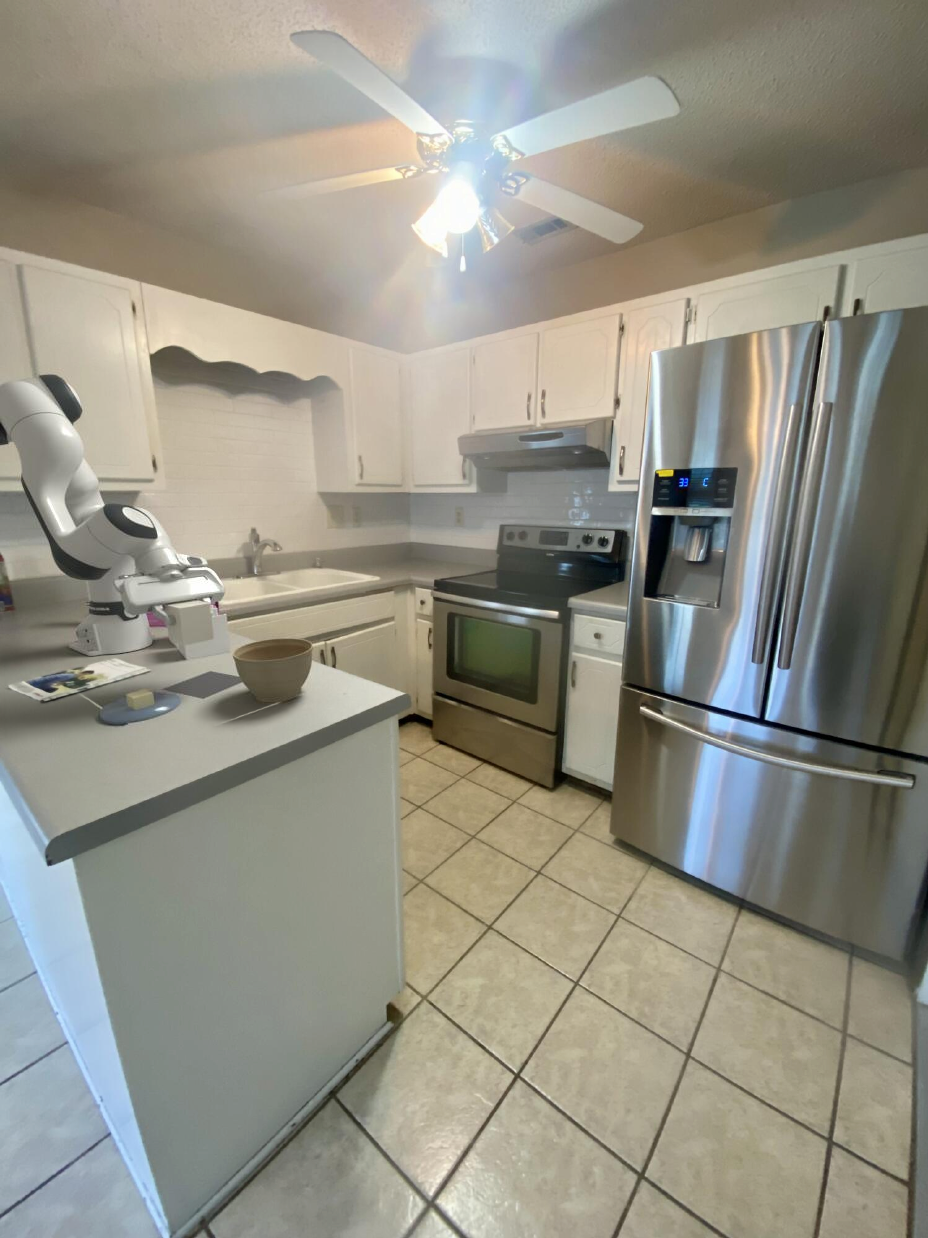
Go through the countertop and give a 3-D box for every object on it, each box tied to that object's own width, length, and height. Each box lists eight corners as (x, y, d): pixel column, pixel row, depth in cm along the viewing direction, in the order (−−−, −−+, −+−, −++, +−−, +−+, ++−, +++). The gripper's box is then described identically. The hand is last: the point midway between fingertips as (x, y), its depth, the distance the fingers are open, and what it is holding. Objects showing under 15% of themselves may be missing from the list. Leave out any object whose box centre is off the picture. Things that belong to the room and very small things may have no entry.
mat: (161, 691, 114) (161, 689, 114) (210, 672, 125) (210, 671, 125) (203, 700, 109) (203, 698, 109) (250, 680, 120) (250, 678, 120)
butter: (127, 705, 104) (125, 694, 103) (147, 700, 106) (145, 688, 106) (135, 710, 101) (133, 698, 101) (154, 704, 104) (152, 693, 104)
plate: (84, 717, 101) (83, 712, 100) (150, 692, 113) (150, 688, 113) (131, 730, 95) (130, 725, 95) (196, 702, 108) (195, 698, 107)
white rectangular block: (169, 640, 110) (164, 604, 108) (199, 634, 115) (194, 599, 113) (183, 645, 106) (179, 608, 104) (213, 639, 111) (209, 603, 109)
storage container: (169, 639, 154) (164, 604, 151) (208, 633, 160) (204, 599, 158) (187, 660, 135) (181, 620, 132) (230, 652, 141) (226, 614, 139)
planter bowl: (266, 679, 121) (262, 635, 118) (328, 685, 118) (325, 640, 115) (221, 706, 106) (215, 656, 103) (290, 714, 102) (286, 662, 100)
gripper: (112, 567, 102) (140, 621, 99) (212, 557, 118) (239, 604, 115) (107, 586, 106) (134, 639, 103) (204, 574, 122) (230, 620, 119)
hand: (190, 620), depth 109 cm, fingers closed on white rectangular block, 6 cm apart
